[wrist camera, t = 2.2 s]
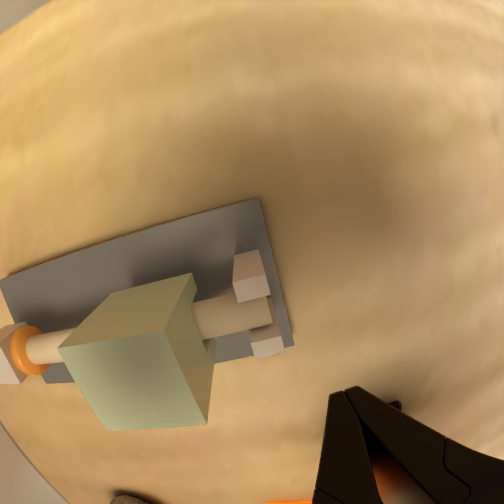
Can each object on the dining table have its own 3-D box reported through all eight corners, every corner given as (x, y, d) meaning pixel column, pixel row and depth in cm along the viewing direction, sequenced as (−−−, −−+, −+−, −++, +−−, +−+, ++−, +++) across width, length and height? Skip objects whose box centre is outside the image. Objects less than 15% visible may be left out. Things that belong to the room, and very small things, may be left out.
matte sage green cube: (191, 272, 16) (163, 329, 10) (216, 345, 17) (207, 423, 11) (112, 292, 16) (56, 348, 10) (141, 359, 17) (106, 430, 11)
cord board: (257, 197, 19) (266, 205, 12) (291, 334, 21) (310, 393, 15) (8, 275, 19) (-43, 303, 13) (53, 374, 22) (19, 418, 15)
